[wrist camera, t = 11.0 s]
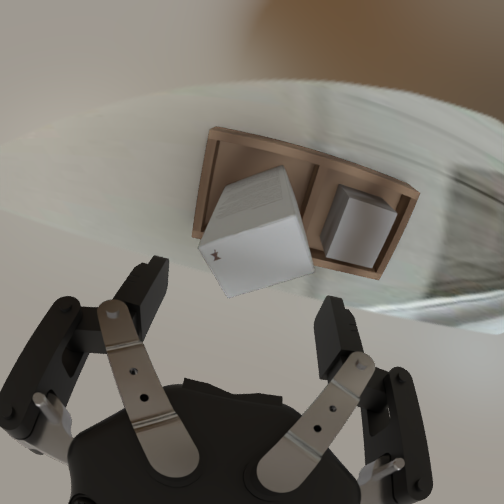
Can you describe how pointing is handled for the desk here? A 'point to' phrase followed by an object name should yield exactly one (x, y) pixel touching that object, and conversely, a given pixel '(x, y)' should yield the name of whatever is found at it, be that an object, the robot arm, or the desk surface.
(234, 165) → the wooden divided tray
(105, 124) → the desk surface
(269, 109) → the desk surface
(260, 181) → the skincare box
